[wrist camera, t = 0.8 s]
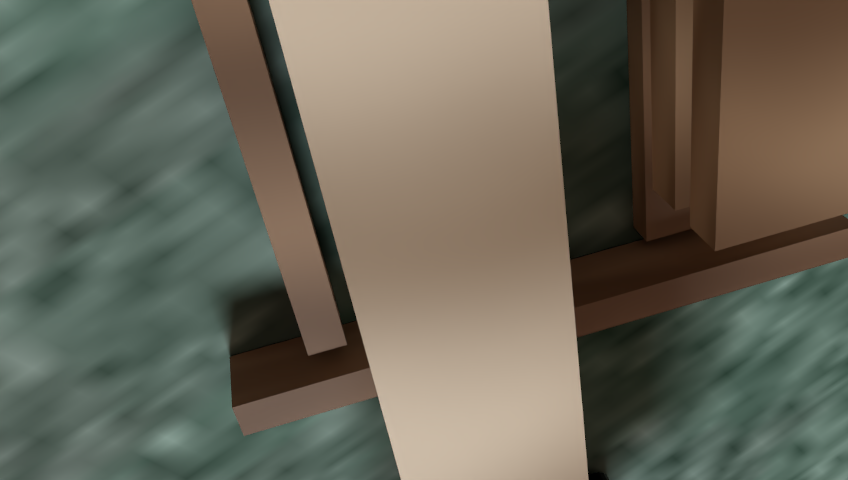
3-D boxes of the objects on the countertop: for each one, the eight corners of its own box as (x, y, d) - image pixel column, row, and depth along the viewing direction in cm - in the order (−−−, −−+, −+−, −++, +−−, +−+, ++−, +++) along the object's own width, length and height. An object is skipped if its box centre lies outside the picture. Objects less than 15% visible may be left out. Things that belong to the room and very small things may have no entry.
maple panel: (451, 228, 21) (589, 490, 14) (340, 259, 21) (419, 544, 13) (374, -199, 16) (535, -156, 8) (222, -167, 15) (244, -91, 8)
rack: (806, 221, 24) (852, 256, 22) (240, 384, 22) (244, 435, 20) (885, -494, 15) (970, -525, 13) (-42, -321, 13) (-77, -332, 12)
